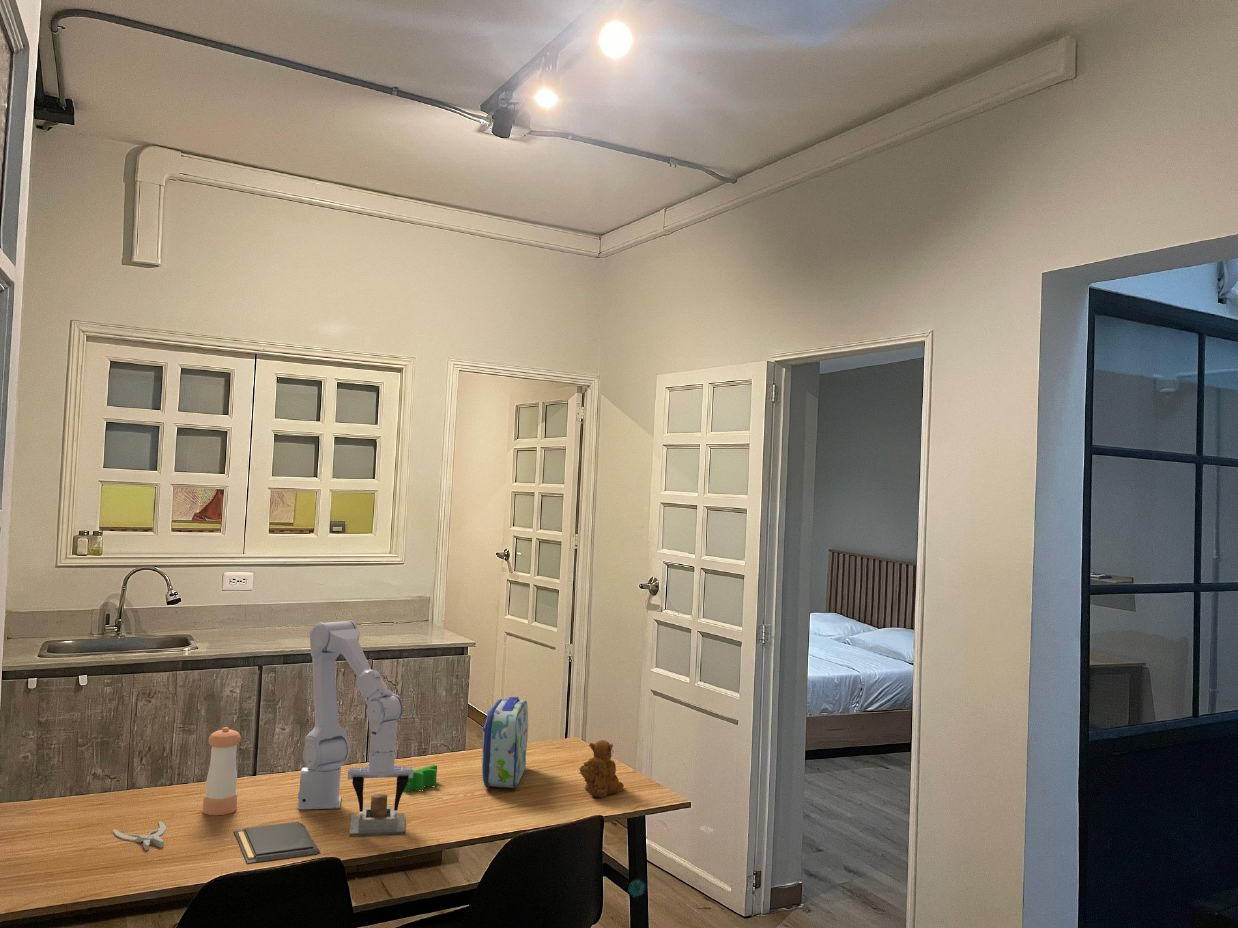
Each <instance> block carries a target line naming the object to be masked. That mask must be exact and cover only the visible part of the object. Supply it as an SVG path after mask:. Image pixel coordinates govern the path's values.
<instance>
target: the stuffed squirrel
mask: <svg viewBox="0 0 1238 928" xmlns="http://www.w3.org/2000/svg"><path fill="white" fill-rule="evenodd" d="M588 746H589V748H590V749H591V751H592V752H593V757H592V758H588V760H587V761H586V762H584V763H583V765H581V766H580V767H579V768H578V769H579V772H578V775H581V776H582V777H583V779H584V782H585V783H586V784H585V787H584V788H585V789H584V790H586V791H587V793H589V795H590V796H591V797H594V798H599V799H600V797H601V799H604V798H606V797H607V795H613V794H612V793H614V794H619V793H621V792H622V790H624V788H625V787H624V782H621V781H619V778H618V776H617V775H616V772H617V766H616V762H615V760H613V759H612V755H613V754H614V753H615V752H614V750H613V748H614V744H613V743H610V742H608V741H607V740H604V739H602V740H599V741H596V742H595V743H593V742H589V744H588ZM612 753H613V754H612ZM618 792H619V793H618Z"/></svg>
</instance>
